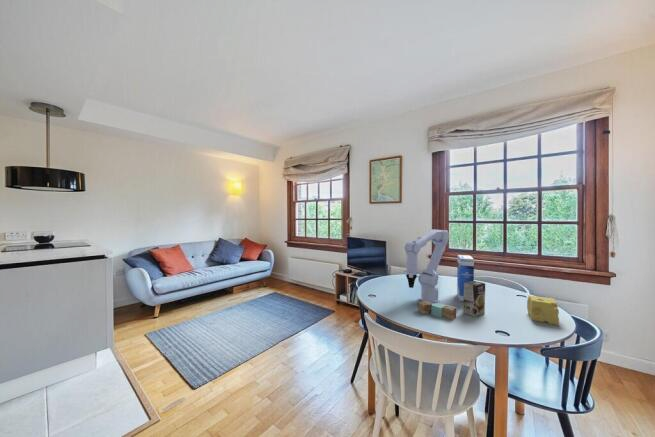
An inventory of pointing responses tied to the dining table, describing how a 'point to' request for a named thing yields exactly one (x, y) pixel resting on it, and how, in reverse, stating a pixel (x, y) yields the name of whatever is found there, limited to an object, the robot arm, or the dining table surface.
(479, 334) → the dining table surface
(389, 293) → the dining table surface
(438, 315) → the plain block
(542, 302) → the cheese
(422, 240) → the robot arm
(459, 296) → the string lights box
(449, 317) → the digit block seven
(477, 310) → the coffee box
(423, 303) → the digit block one
